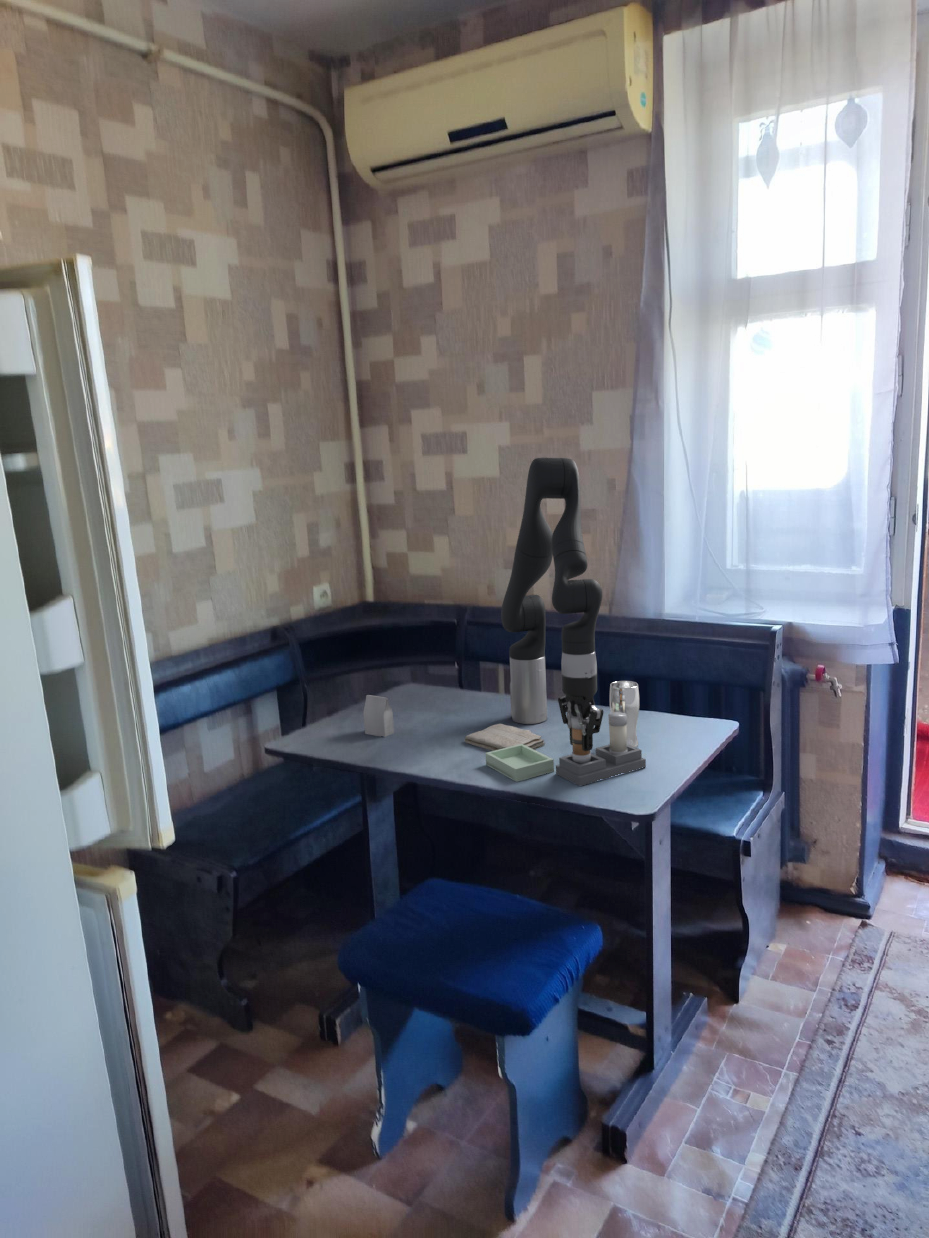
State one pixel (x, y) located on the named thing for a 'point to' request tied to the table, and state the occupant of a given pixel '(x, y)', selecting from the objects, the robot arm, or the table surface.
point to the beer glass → (626, 706)
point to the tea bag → (378, 716)
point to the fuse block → (600, 765)
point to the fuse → (618, 732)
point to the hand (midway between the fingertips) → (581, 746)
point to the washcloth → (504, 738)
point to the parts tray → (519, 762)
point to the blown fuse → (578, 743)
